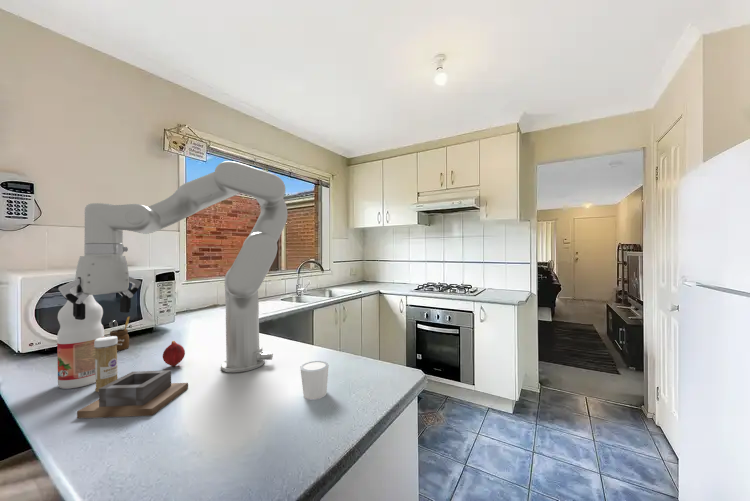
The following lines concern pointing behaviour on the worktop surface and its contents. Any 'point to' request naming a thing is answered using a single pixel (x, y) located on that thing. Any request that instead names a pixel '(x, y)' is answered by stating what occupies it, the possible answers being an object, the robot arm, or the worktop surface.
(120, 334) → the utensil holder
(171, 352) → the onion
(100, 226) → the robot arm
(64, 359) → the fruit juice
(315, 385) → the white cup
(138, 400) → the socket stand
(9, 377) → the worktop surface
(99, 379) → the sprinkles bottle
